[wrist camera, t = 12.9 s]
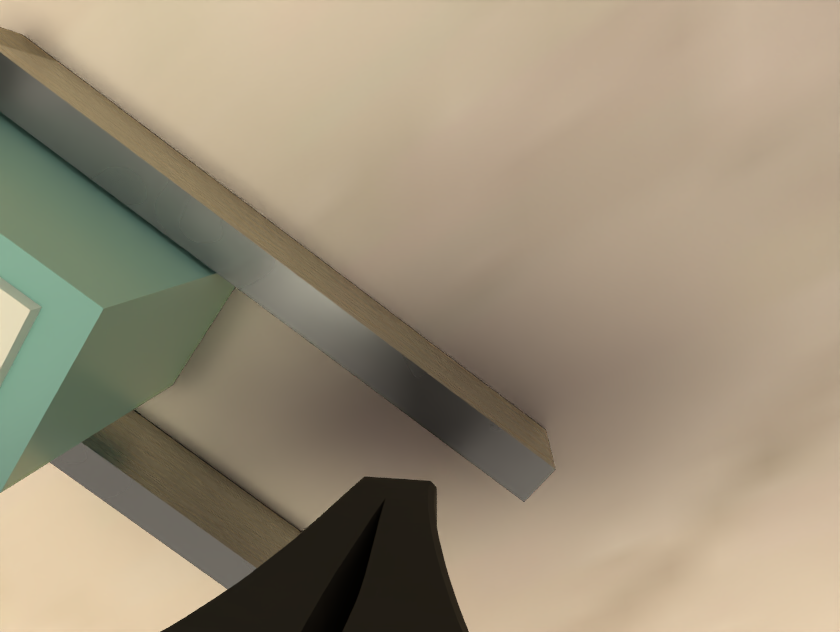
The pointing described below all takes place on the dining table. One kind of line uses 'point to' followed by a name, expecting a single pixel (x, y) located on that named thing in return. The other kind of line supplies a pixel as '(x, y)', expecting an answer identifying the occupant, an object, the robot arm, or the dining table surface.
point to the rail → (277, 293)
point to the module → (84, 306)
